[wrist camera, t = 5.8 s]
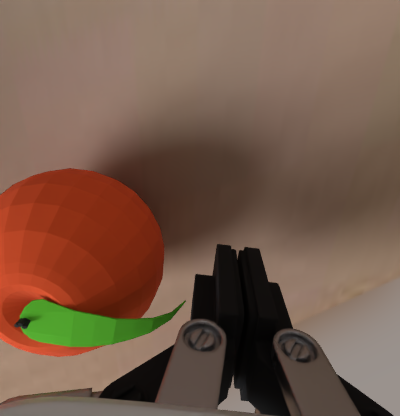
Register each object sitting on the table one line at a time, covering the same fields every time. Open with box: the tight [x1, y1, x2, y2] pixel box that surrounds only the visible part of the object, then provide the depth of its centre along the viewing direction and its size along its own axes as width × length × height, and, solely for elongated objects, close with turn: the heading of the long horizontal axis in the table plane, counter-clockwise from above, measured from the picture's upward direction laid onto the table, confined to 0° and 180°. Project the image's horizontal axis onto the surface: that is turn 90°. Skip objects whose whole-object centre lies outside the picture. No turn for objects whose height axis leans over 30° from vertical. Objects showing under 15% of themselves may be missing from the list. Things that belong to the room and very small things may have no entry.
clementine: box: [0, 168, 186, 357], centre depth 12 cm, size 8×7×7 cm
